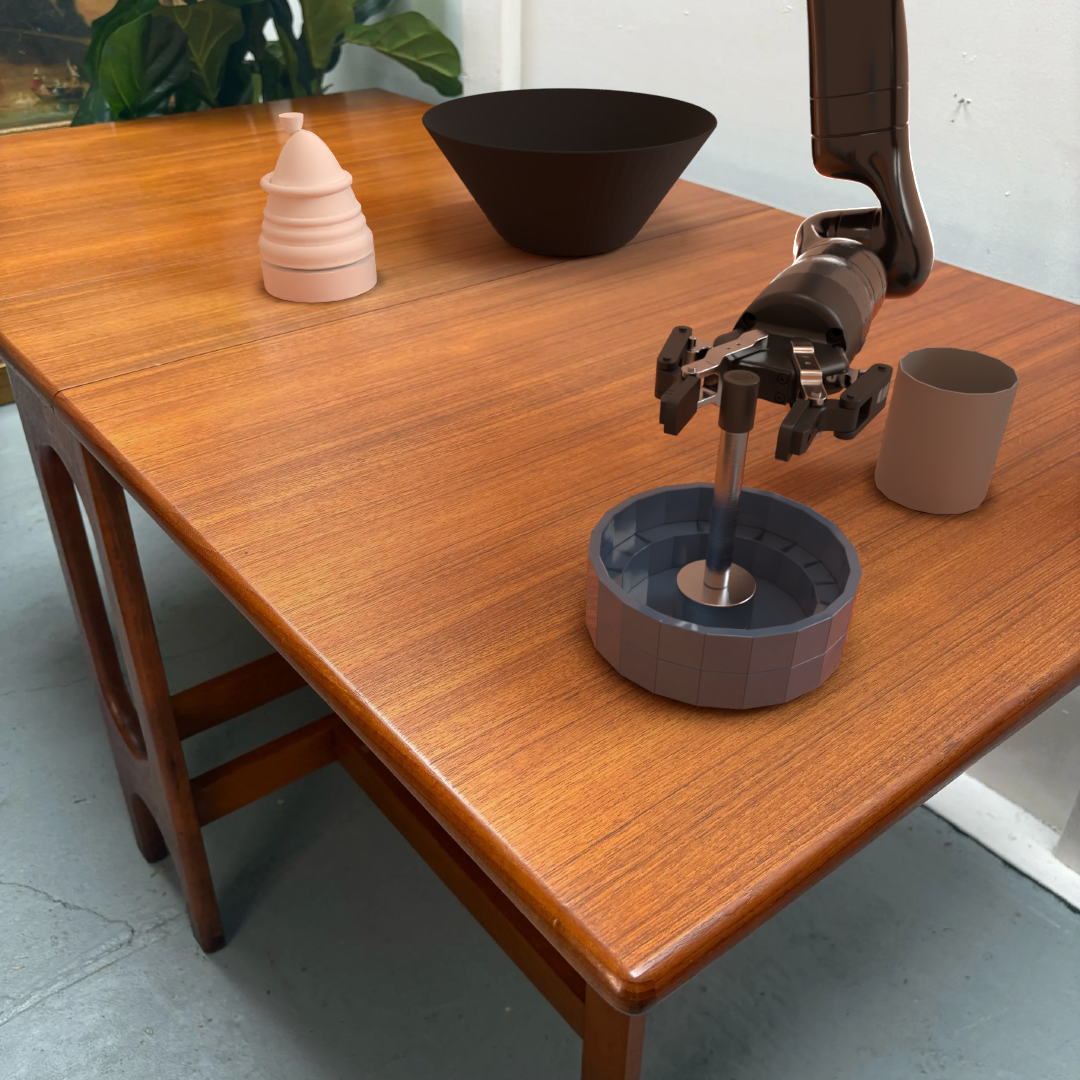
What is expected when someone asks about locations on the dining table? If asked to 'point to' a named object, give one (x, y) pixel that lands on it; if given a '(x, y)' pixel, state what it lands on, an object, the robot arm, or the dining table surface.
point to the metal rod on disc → (723, 521)
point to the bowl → (568, 161)
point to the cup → (944, 429)
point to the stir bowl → (706, 652)
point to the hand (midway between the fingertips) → (726, 432)
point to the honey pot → (313, 224)
